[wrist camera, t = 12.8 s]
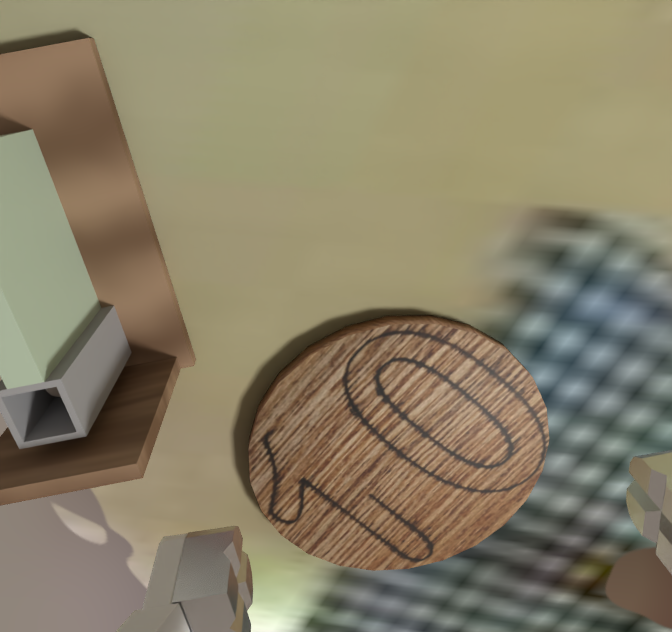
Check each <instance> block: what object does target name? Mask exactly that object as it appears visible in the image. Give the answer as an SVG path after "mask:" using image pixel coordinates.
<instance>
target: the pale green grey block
mask: <svg viewBox="0 0 672 632" xmlns="http://www.w3.org/2000/svg"><path fill="white" fill-rule="evenodd" d="M131 353H132V352H131V349H130V347H129V344H128V341H127V339H126V336H125V333H124V331H123V328H122V325H121V323H120V320H119V317H118V315H117V312H116V309H115V307H114V305H113V306H108V307H103V308H101V306H100V303H99V300H98V298H97V295H96V293H95V290H94V287H93V285H92V282H91V280H90V277H89V274H88V272H87V269H86V267H85V264H84V261H83V259H82V256H81V254H80V251H79V248H78V246H77V243H76V241H75V238H74V235H73V233H72V230H71V228H70V225H69V222H68V220H67V217H66V215H65V212H64V209H63V207H62V204H61V202H60V199H59V196H58V194H57V191H56V189H55V186H54V183H53V181H52V178H51V176H50V173H49V170H48V168H47V165H46V163H45V160H44V157H43V155H42V152H41V150H40V147H39V144H38V142H37V139H36V137H35V134H34V131H33V129H32V130H26V131H21V132H16V133H11V134H5V135H0V376H1V378H2V380H1V381H0V412H1V414H2V416H3V418H4V420H5V422H6V424H7V426H8V428H9V430H10V432H11V434H12V436H13V438H14V440H15V441H16V443H17V445H18V447H19V449H24V448H29V447H34V446H39V445H44V444H50V443H55V442H60V441H65V440H70V439H76V438H81V437H86V436H87V435H88V433H89V431H90V429H91V427H92V425H93V423H94V422H95V420H96V418H97V416H98V414H99V412H100V411H101V409H102V407H103V405H104V403H105V401H106V399H107V398H108V396H109V394H110V392H111V390H112V388H113V386H114V385H115V383H116V381H117V379H118V377H119V375H120V373H121V372H122V370H123V368H124V366H125V364H126V362H127V360H128V359H129V357H130V355H131ZM52 387H57V389H58V391H59V394H60V396H61V397H55V396H52V395H50V394H49V393H48V392H47V391H46V389H47V388H52Z"/></svg>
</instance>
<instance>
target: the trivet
mask: <svg viewBox="0 0 672 632" xmlns="http://www.w3.org/2000/svg"><path fill="white" fill-rule="evenodd" d="M548 443H549V430H548V419H547V408H546V406H545V404H544V401H543V399H542V397H541V395H540V392H539V390H538V388H537V386H536V384H535V381H534V379H533V377H532V376H531V375H530V374H529V372H528V371H527V370H526V369H525V367H524V366H523V365H522V364H521V363H520V362H519V361H518V360H517V359H516V358H515V357H514V356H513V355H512V354H511V353H510V351H509V350H508V349H507V348H506V347H505V346H504V345H503V344H502V343H501V342H499V341H497V340H495V339H494V338H492V337H490V336H488V335H486V334H485V333H483V332H481V331H479V330H478V329H476V328H474V327H472V326H471V325H468V324H464V323H460V322H456V321H452V320H448V319H444V318H440V317H435V316H431V315H409V316H385V317H381V318H377V319H373V320H369V321H365V322H361V323H357V324H353V325H350V326H346V327H344V328H342V329H340V330H338V331H336V332H335V333H333V334H331V335H329V336H327V337H325V338H323V339H321V340H319V341H317V342H316V343H314V344H312V345H310V346H308V347H307V348H306V349H305V350H304V351H303V352H302V353H301V354H299V355H298V356H297V357H296V358H295V359H294V360H293V361H292V362H291V363H289V364H288V365H287V366H286V367H285V368H284V369H283V370H282V371H281V372H279V374H278V375H277V377H276V378H275V380H274V381H273V383H272V384H271V386H270V388H269V389H268V391H267V392H266V394H265V395H264V397H263V399H262V400H261V402H260V403H259V405H258V409H257V413H256V416H255V420H254V423H253V427H252V430H251V434H250V438H249V449H248V451H249V472H250V483H251V486H252V488H253V491H254V493H255V496H256V498H257V501H258V503H259V506H260V508H261V511H262V512H263V513H264V515H265V516H266V517H267V518H268V520H269V521H270V522H271V523H272V524H273V526H274V527H275V528H276V529H277V530H278V532H279V533H280V534H281V535H282V536H283V537H285V538H286V539H288V540H289V541H290V542H292V543H293V544H295V545H296V546H298V547H299V548H301V549H302V550H303V551H305V552H306V553H308V554H310V555H313V556H316V557H318V558H321V559H323V560H326V561H329V562H331V563H334V564H337V565H340V566H346V567H353V568H360V569H367V570H391V569H409V568H413V567H417V566H421V565H425V564H429V563H433V562H438V561H442V560H444V559H447V558H449V557H451V556H453V555H455V554H458V553H460V552H462V551H464V550H466V549H469V548H471V547H473V546H475V545H477V544H478V543H480V542H481V541H482V540H484V539H485V538H486V537H488V536H489V535H491V534H492V533H493V532H495V531H496V530H498V529H499V528H500V527H502V526H503V525H504V524H505V523H506V522H507V521H508V520H509V519H510V518H511V517H512V515H513V514H514V513H515V512H516V511H517V510H518V509H519V508H520V507H521V506H522V504H523V503H524V502H525V501H526V500H527V498H528V496H529V495H530V493H531V491H532V489H533V487H534V485H535V484H536V482H537V480H538V478H539V476H540V474H541V472H542V470H543V466H544V461H545V457H546V452H547V448H548Z"/></svg>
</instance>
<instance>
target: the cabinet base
mask: <svg viewBox="0 0 672 632" xmlns="http://www.w3.org/2000/svg"><path fill="white" fill-rule="evenodd" d="M32 129H33V131H34V134H35V137H36V139H37V142H38V144H39V147H40V150H41V152H42V155H43V157H44V160H45V163H46V165H47V168H48V170H49V173H50V176H51V178H52V181H53V183H54V186H55V189H56V191H57V194H58V196H59V199H60V202H61V204H62V207H63V209H64V212H65V215H66V217H67V220H68V222H69V225H70V228H71V230H72V233H73V235H74V238H75V241H76V243H77V246H78V248H79V251H80V254H81V256H82V259H83V261H84V264H85V267H86V269H87V272H88V274H89V277H90V280H91V282H92V285H93V287H94V290H95V293H96V295H97V298H98V300H99V303H100V306H101V308H103V307H108V306H113V305H114V307H115V309H116V312H117V315H118V317H119V320H120V323H121V325H122V328H123V331H124V333H125V336H126V339H127V341H128V344H129V347H130V349H131V352H132V353H131V355H130V357H129V359H128V360H127V362H126V364H125V366H124V368H123V370H122V372H121V373H120V375H119V377H118V379H117V381H116V383H115V385H114V386H113V388H112V390H111V392H110V394H109V396H108V398H107V399H106V401H105V403H104V405H103V407H102V409H101V411H100V412H99V414H98V416H97V418H96V420H95V422H94V423H93V425H92V427H91V429H90V431H89V433H88V435H87V436H86V437H81V438H76V439H70V440H65V441H60V442H55V443H50V444H44V445H39V446H34V447H29V448H24V449H19V447H18V445H17V443H16V441H15V440H14V438H13V436H12V434H11V432H10V430H9V428H7V429H6V430H5V431H4V433H3V434H2V435H1V437H0V505H5V504H10V503H16V502H21V501H26V500H31V499H37V498H41V497H47V496H52V495H57V494H62V493H68V492H73V491H77V490H83V489H88V488H93V487H99V486H104V485H109V484H114V483H119V482H125V481H130V480H135V479H140V478H143V476H144V473H145V470H146V467H147V464H148V461H149V458H150V455H151V453H152V450H153V447H154V444H155V441H156V438H157V435H158V432H159V430H160V427H161V424H162V421H163V418H164V415H165V412H166V409H167V406H168V404H169V401H170V398H171V395H172V392H173V389H174V386H175V383H176V381H177V378H178V375H179V372H180V369H181V368H186V367H191V366H194V364H195V361H196V358H195V355H194V352H193V349H192V345H191V342H190V339H189V336H188V333H187V330H186V327H185V323H184V320H183V317H182V314H181V311H180V308H179V305H178V301H177V298H176V295H175V292H174V289H173V286H172V283H171V279H170V276H169V273H168V270H167V267H166V264H165V261H164V257H163V254H162V251H161V248H160V245H159V242H158V239H157V235H156V232H155V229H154V226H153V223H152V220H151V217H150V213H149V210H148V207H147V204H146V201H145V198H144V195H143V191H142V188H141V185H140V182H139V179H138V176H137V173H136V170H135V166H134V163H133V160H132V157H131V154H130V151H129V148H128V144H127V141H126V138H125V135H124V132H123V129H122V126H121V122H120V119H119V116H118V113H117V110H116V107H115V104H114V100H113V97H112V94H111V91H110V88H109V85H108V82H107V78H106V75H105V72H104V69H103V66H102V63H101V60H100V56H99V53H98V50H97V47H96V44H95V41H94V39H92V38H85V39H80V40H74V41H69V42H64V43H58V44H53V45H48V46H42V47H37V48H32V49H26V50H21V51H15V52H10V53H5V54H0V135H5V134H11V133H16V132H21V131H26V130H32ZM46 391H47V392H48V393H49V394H50V395H52V396H55V397H61V396H60V394H59V391H58V389H57V387H52V388H47V389H46Z"/></svg>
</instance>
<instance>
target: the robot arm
mask: <svg viewBox="0 0 672 632" xmlns="http://www.w3.org/2000/svg"><path fill="white" fill-rule="evenodd" d="M629 473H630V474H631V475H632V476H633V478H634V479H635V480H634V481H633V482H632V483H631V484H630V486H629V487H628V488H627V496H626V503H627V507H628V511H629V515H630V517H631V519H632V521H633V523H634V525H635V526H636V528H637V529H638V530H639V532H640V533H641V535H642V536H644V537H646V538H648V539H650V540H652V541H653V542H655V543H657V544H656V555H657V556H658V557H659V559H660V560H661V561H662V563H663V564H664V565H665V566H666V568H667V569H668V571H669V572H670V573H671V575H672V450H668V451H662V452H657V453H652V454H646V455H641V456H635V457H633V459H632V460H631V462H630V467H629ZM242 541H243V538H242V535H241V532H240V529H239V527H238V526H231V527H224V528H217V529H210V530H203V531H197V532H190V533H187V534H180V535H173V536H166V537H163V539H162V540H161V542H160V543H159V546H158V550H157V554H156V558H155V562H154V565H153V569H152V573H151V577H150V581H149V584H148V588H147V592H146V596H145V600H144V604H143V607H142V609H141V610H135V611H134V612H133V613H132V614H131V615H130V616H129V617H128V619H127V620H126V621H125V622H124V623H123V624H122V625H121V626H120V628H119V629H118V630H117V631H116V632H251V623H250V620H249V616H248V613H247V610H248V609H249V607H250V606H251V605H252V599H253V583H252V572H251V566H250V562H249V558H248V555H247V554H246V553H245V552H243V551H242Z"/></svg>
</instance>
